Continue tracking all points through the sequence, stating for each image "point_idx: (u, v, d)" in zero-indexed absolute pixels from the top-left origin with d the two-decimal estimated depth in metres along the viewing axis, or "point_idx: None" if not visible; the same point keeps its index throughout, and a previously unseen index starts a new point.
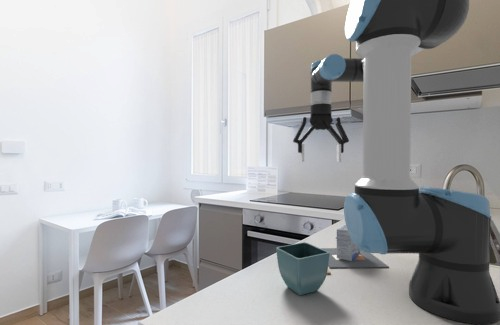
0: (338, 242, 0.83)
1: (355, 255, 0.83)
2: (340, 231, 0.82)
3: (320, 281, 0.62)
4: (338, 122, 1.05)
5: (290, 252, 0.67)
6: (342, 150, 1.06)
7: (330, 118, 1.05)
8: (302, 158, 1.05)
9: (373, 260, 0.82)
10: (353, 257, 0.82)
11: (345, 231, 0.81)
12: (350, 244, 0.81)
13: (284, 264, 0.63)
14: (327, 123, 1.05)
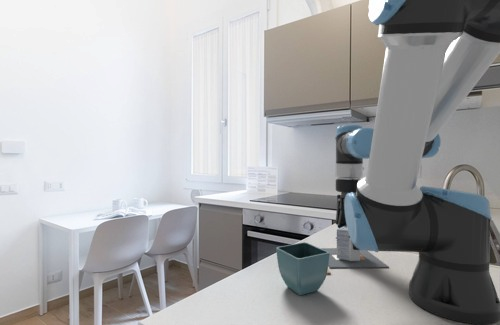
0: (338, 242, 0.83)
1: None
2: (340, 231, 0.82)
3: (320, 281, 0.62)
4: None
5: (290, 252, 0.67)
6: (354, 246, 0.79)
7: None
8: None
9: (373, 260, 0.82)
10: None
11: (345, 231, 0.81)
12: None
13: (284, 264, 0.63)
14: None
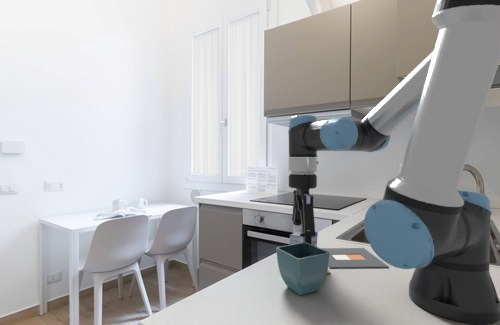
0: None
1: None
2: (293, 236, 0.75)
3: (320, 281, 0.62)
4: (302, 203, 0.72)
5: (290, 252, 0.67)
6: None
7: (301, 194, 0.75)
8: None
9: (373, 260, 0.82)
10: None
11: (298, 237, 0.75)
12: None
13: (284, 264, 0.63)
14: (297, 201, 0.76)
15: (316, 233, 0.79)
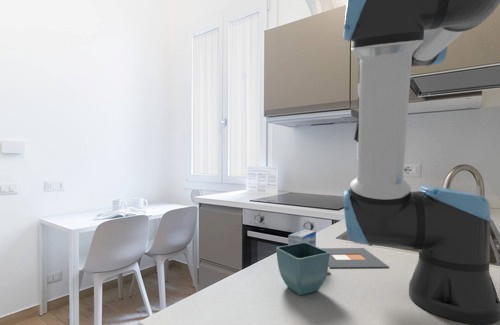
0: None
1: None
2: (291, 236, 0.76)
3: (320, 281, 0.62)
4: None
5: (290, 252, 0.67)
6: None
7: None
8: (357, 156, 1.03)
9: (373, 260, 0.82)
10: None
11: (296, 237, 0.75)
12: None
13: (284, 264, 0.63)
14: None
15: (314, 233, 0.79)
